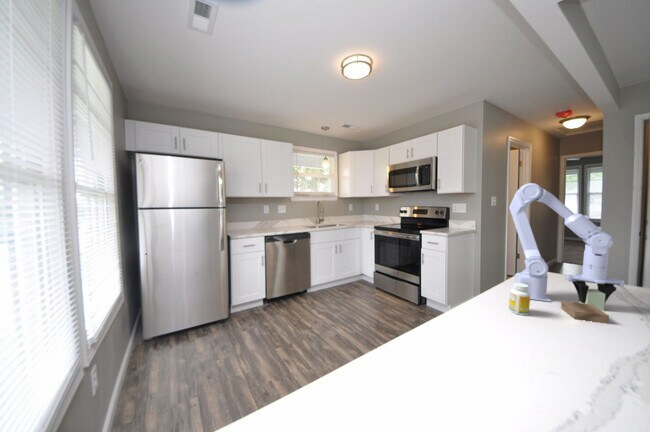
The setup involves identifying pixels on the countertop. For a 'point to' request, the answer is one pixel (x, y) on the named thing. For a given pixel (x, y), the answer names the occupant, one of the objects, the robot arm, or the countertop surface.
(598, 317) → the walnut block
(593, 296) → the sage block
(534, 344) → the countertop surface
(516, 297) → the supplement bottle
